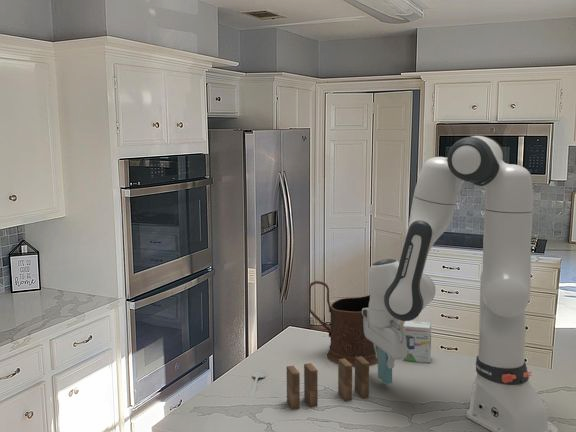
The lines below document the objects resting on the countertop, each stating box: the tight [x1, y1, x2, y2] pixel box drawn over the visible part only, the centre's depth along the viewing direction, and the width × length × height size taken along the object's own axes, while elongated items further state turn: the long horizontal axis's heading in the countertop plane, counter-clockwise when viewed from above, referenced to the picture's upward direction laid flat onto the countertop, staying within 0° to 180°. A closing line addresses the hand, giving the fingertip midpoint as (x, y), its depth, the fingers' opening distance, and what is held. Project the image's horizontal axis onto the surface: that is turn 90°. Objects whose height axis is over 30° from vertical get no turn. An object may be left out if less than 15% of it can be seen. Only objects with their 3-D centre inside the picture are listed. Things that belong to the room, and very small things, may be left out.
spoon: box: [248, 367, 267, 399], centre depth 167 cm, size 4×21×2 cm, turn 174°
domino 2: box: [303, 362, 319, 408], centre depth 156 cm, size 2×5×10 cm, turn 17°
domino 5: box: [377, 347, 393, 385], centre depth 165 cm, size 2×5×10 cm, turn 17°
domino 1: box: [286, 365, 301, 410], centre depth 154 cm, size 2×5×10 cm, turn 18°
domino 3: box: [337, 358, 353, 402], centre depth 159 cm, size 2×5×10 cm, turn 17°
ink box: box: [402, 320, 432, 364], centre depth 184 cm, size 9×5×12 cm, turn 73°
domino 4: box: [354, 356, 370, 400], centre depth 160 cm, size 2×5×10 cm, turn 17°
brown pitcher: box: [308, 280, 378, 368], centre depth 187 cm, size 18×24×25 cm
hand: (384, 363), depth 165 cm, fingers closed on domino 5, 5 cm apart
